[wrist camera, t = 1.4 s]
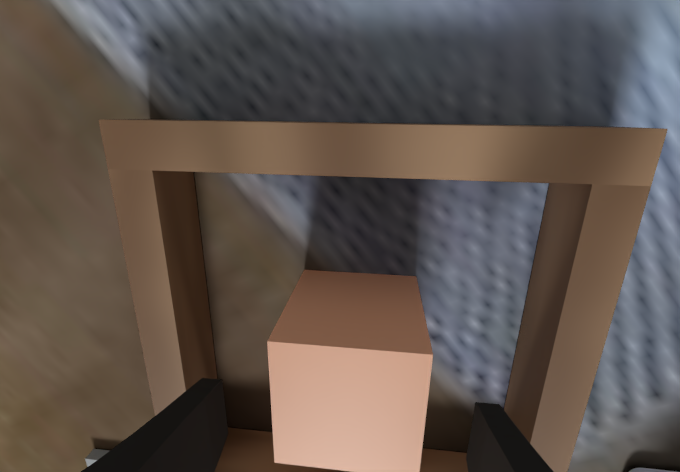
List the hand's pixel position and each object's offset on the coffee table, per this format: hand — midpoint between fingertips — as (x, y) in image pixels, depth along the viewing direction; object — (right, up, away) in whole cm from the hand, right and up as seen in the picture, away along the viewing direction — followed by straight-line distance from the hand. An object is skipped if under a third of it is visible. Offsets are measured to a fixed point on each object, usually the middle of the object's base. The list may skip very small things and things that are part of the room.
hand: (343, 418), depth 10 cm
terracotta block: (+1, +2, +5) cm, 5 cm away
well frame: (+1, +2, +5) cm, 5 cm away
